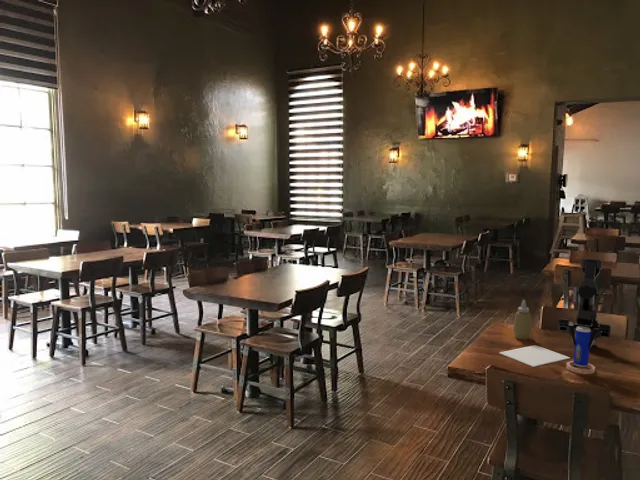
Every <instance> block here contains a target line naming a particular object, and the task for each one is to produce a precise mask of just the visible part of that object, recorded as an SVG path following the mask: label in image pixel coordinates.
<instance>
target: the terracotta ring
mask: <svg viewBox="0 0 640 480" xmlns="http://www.w3.org/2000/svg"><path fill="white" fill-rule="evenodd" d="M565 365H566V367H565V368H566V369H567V370H568V371H570V372H572V373H576V374H582V375H591V374H595V371H596V367H595V366H594V365H593V364H591V363H589V362H588V365H587V366H586V367H585V368H586V369H584V368H577V367H578V366H577V365H575V364H574V360H570V361H567V362H566V364H565ZM575 366H576V367H575Z"/></svg>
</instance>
